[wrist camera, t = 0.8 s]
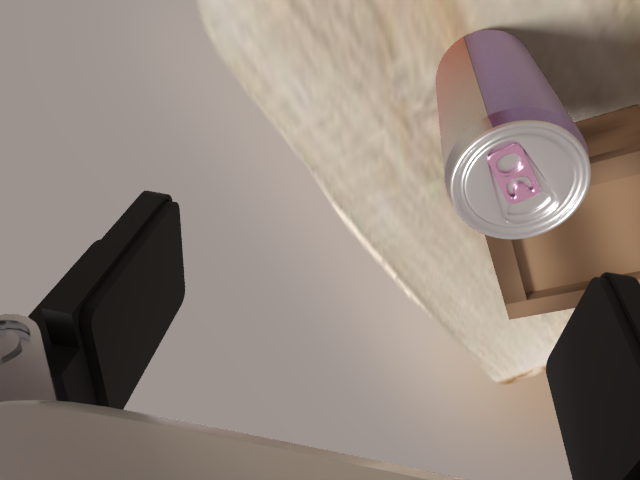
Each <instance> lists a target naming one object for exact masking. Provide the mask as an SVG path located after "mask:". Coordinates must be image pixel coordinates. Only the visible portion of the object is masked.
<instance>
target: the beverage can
mask: <svg viewBox="0 0 640 480" xmlns="http://www.w3.org/2000/svg"><path fill="white" fill-rule="evenodd" d="M436 92H437V103H438V113H439V124H440V135H441V145H442V156H443V167H444V178H445V186H446V190H447V193H448V196H449V198H450V200H451V201H452V203H453V205H454V207H455V209H456V211H457V213H458V214H459V216H460V217H461V218H462V219H463V221H464V222H466V223H467V224H468V225H469V226H470V227H472V228H473V229H475V230H476V231H478V232H480V233H482V234H485V235H488V236H491V237H495V238H500V239H524V238H529V237H534V236H537V235H540V234H543V233H546V232H548V231H550V230H552V229H554V228H556V227H557V226H559V225H560V224H562V223H563V222H564V221H566V220H567V219H568V218H569V217H570V216H571V215H572V214H573V213H574V212H575V211H576V210H577V209H578V207H579V206H580V205H581V203H582V202H583V200H584V198H585V196H586V194H587V191H588V188H589V185H590V179H591V167H590V161H589V153H588V148H587V145H586V142H585V140H584V138H583V136H582V134H581V133H580V131H579V129H578V128H577V126H576V125H575V123H574V122H573V120H572V119H571V117H570V115H569V114H568V112H567V111H566V109H565V108H564V106H563V104H562V103H561V101H560V100H559V98H558V97H557V95H556V94H555V92H554V90H553V89H552V87H551V86H550V84H549V83H548V81H547V80H546V78H545V76H544V75H543V73H542V72H541V70H540V69H539V67H538V65H537V64H536V62H535V61H534V59H533V58H532V56H531V55H530V53H529V51H528V50H527V48H526V47H525V45H524V44H523V43H522V42H521V41H520V40H519V39H518V38H516V37H515V36H513V35H511V34H509V33H507V32H504V31H500V30H481V31H476V32H473V33H471V34H468V35H466V36H464V37H462V38H461V39H459V40H458V41H457V42H455V43H454V44H453V45H452V46H451V47H450V48H449V49H448V50H447V52H446V53H445V54H444V56H443V58H442V60H441V62H440V64H439V66H438V70H437V74H436Z"/></svg>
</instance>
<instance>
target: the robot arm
mask: <svg viewBox="0 0 640 480" xmlns="http://www.w3.org/2000/svg"><path fill="white" fill-rule="evenodd" d="M182 254H183V253H182V239H181V224H180V211H179V205H178V203H177V202H172V198H171V196H170V195H168V194H162V193H156V192H151V191H144V192H142V193H141V194H140V196H139V197H138V198H137V199H136V200H135V201H134V202H133V204H132V205H131V206H130V207H129V208H128V209H127V210H126V212H125V213H124V214H123V215H122V216H121V217H120V219H119V220H118V221H117V222H116V223H115V224H114V225H113V226H112V228H111V229H110V230H109V231H108V232H107V233H106V234H105V236H104V237H103V238H102V239H101V240H97V241H96V242H94V243H93V244H92V245H91V246H90V247H89V248H88V250H87V251H86V252H85V253H84V254H83V255H82V256H81V258H80V259H79V260H78V261H77V262H76V263H75V264H74V265H73V267H72V268H71V269H70V270H69V271H68V272H67V273H66V274H65V276H64V277H63V278H62V279H61V280H60V281H59V283H57V285H56V286H55V287H54V288H53V289H52V290H51V291H50V293H49V294H48V295H47V296H46V297H45V298H44V299H43V300H42V301H41V303H40V304H39V305H38V306H37V307H36V308H35V309H34V311H33V312H32V313H31V314H30V315H29V316H28V317H25V316H22V315H18V314H4V315H0V480H467V479H463V478H458V477H453V476H449V475H444V474H439V473H435V472H430V471H425V470H420V469H415V468H411V467H406V466H401V465H396V464H391V463H387V462H382V461H377V460H372V459H367V458H363V457H358V456H353V455H347V454H343V453H338V452H334V451H329V450H324V449H319V448H314V447H309V446H304V445H299V444H295V443H290V442H285V441H280V440H275V439H270V438H265V437H260V436H255V435H250V434H245V433H240V432H235V431H230V430H225V429H220V428H216V427H210V426H205V425H201V424H195V423H191V422H186V421H181V420H175V419H170V418H164V417H159V416H154V415H148V414H143V413H138V412H132V411H127V410H123V409H124V407H125V405H126V403H127V402H128V400H129V398H130V396H131V394H132V393H133V391H134V389H135V387H136V385H137V384H138V382H139V380H140V378H141V376H142V375H143V373H144V371H145V369H146V367H147V366H148V364H149V362H150V360H151V358H152V356H153V355H154V353H155V351H156V349H157V348H158V346H159V344H160V342H161V340H162V339H163V337H164V335H165V333H166V331H167V330H168V328H169V326H170V324H171V322H172V321H173V319H174V317H175V315H176V313H177V312H178V310H179V308H180V306H181V304H182V302H183V299H184V295H185V282H184V267H183V255H182ZM546 373H547V378H548V382H549V386H550V390H551V394H552V398H553V402H554V406H555V410H556V414H557V418H558V422H559V426H560V430H561V434H562V438H563V442H564V446H565V450H566V454H567V458H568V462H569V466H570V470H571V474H572V478H573V480H640V283H639V282H638V280H637V279H636V278H635V277H633V276H627V275H621V274H616V273H610V272H605V273H603V274H602V275H601V276H600V277H594V278H593V279H592V280H591V281H590V283H589V284H588V286H587V288H586V290H585V292H584V294H583V295H582V297H581V299H580V301H579V303H578V305H577V306H576V308H575V310H574V312H573V314H572V316H571V317H570V319H569V321H568V323H567V325H566V327H565V328H564V330H563V332H562V334H561V336H560V338H559V339H558V341H557V343H556V345H555V347H554V349H553V350H552V352H551V354H550V356H549V358H548V361H547V365H546Z"/></svg>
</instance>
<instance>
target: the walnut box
mask: <svg viewBox="0 0 640 480" xmlns="http://www.w3.org/2000/svg"><path fill="white" fill-rule="evenodd" d="M575 125H576V126H577V128H578V129H579V131H580V133H581V134H582V136H583V138H584V140H585V142H586V145H587V148H588V153H589V161H590V167H591V179H590V185H589V188H588V191H587V194H586V196H585V198H584V200H583V202H582V203H581V205H580V206H579V207H578V209H577V210H576V211H575V212H574V213H573V214H572V215H571V216H570V217H569V218H568V219H567V220H566V221H564V222H563V223H562V224H560V225H559V226H557V227H556V228H554V229H552V230H550V231H548V232H546V233H543V234H540V235H537V236H534V237H529V238H524V239H500V238H495V237H491V236H488V235H485V237H486V240H487V244H488V247H489V251H490V254H491V258H492V261H493V265H494V268H495V272H496V275H497V278H498V282H499V285H500V289H501V292H502V296H503V299H504V303H505V306H506V310H507V313H508V317H509V320H510V319H515V318H521V317H526V316H532V315H538V314H543V313H549V312H554V311H560V310H566V309H571V308H576V306H577V305H578V303H579V301H580V299H581V297H582V295H583V294H584V292H585V290H586V288H587V286H588V284H589V283H590V281H591V280H592V279H593V278H594V277H600V276H601V275H602V274H603V273H605V272H610V273H616V274H621V275H627V276H633V277H635V278H636V279H637V280H638V282H639V283H640V107H639V106H638V105H634V106H631V107H628V108H624V109H621V110H617V111H614V112H610V113H607V114H603V115H600V116H597V117H593V118H590V119H586V120H583V121H579V122H576V123H575Z"/></svg>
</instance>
